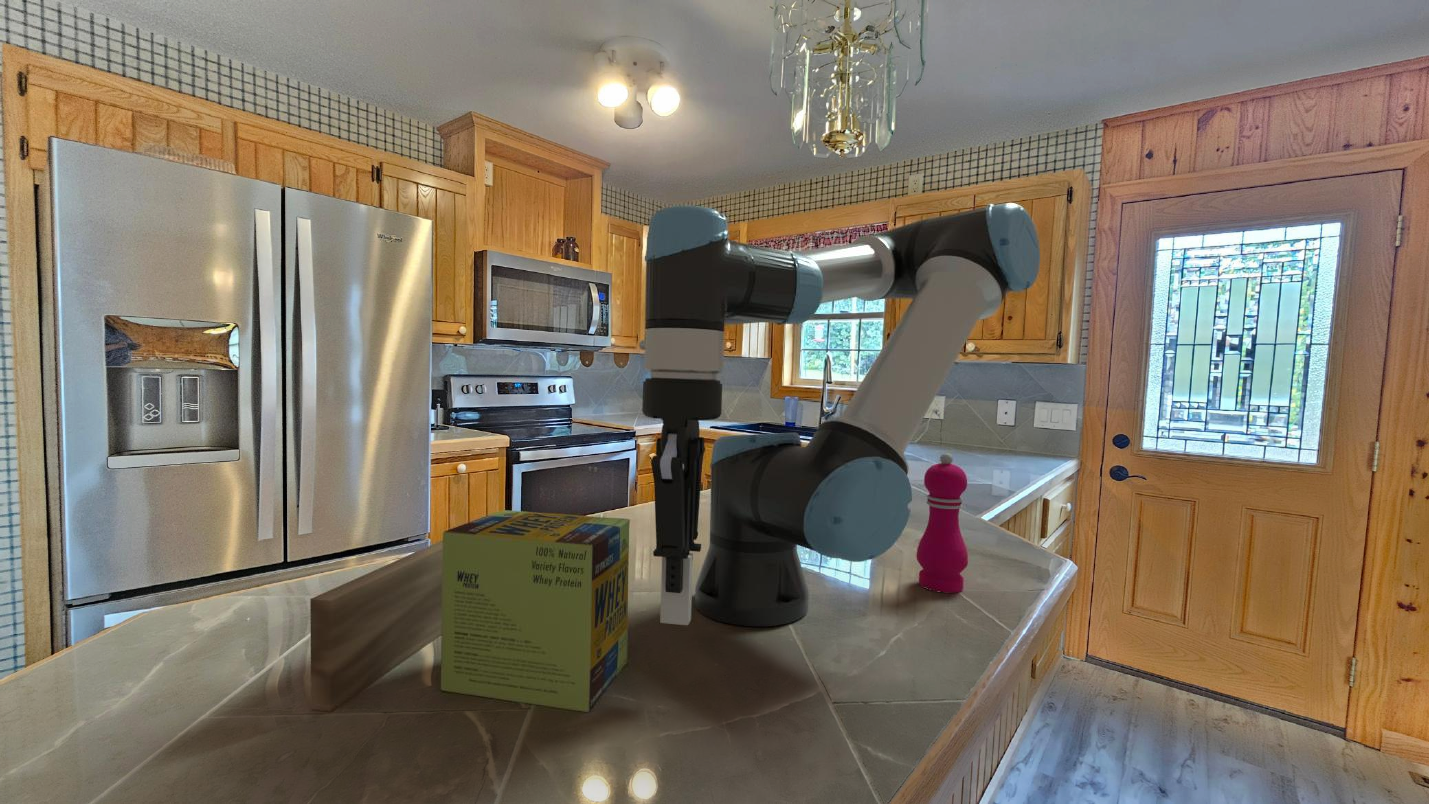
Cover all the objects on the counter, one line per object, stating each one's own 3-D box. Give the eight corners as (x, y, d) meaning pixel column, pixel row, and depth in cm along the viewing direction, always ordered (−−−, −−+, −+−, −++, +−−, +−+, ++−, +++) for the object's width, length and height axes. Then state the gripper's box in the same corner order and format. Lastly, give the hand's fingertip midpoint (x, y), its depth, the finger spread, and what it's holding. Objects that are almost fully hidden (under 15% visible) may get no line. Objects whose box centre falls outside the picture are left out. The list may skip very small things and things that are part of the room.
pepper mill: (976, 589, 92) (983, 454, 91) (946, 598, 88) (953, 457, 87) (935, 575, 98) (940, 449, 97) (905, 583, 94) (910, 451, 93)
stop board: (457, 622, 75) (458, 540, 75) (330, 711, 55) (330, 600, 55) (442, 621, 75) (443, 539, 75) (310, 709, 56) (310, 598, 55)
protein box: (590, 714, 56) (593, 544, 55) (438, 692, 59) (439, 530, 58) (629, 661, 66) (632, 517, 66) (497, 645, 69) (499, 507, 69)
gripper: (661, 375, 66) (654, 594, 67) (624, 375, 53) (617, 645, 54) (731, 377, 65) (723, 600, 66) (710, 377, 52) (702, 654, 53)
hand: (675, 620), depth 60 cm, fingers closed
